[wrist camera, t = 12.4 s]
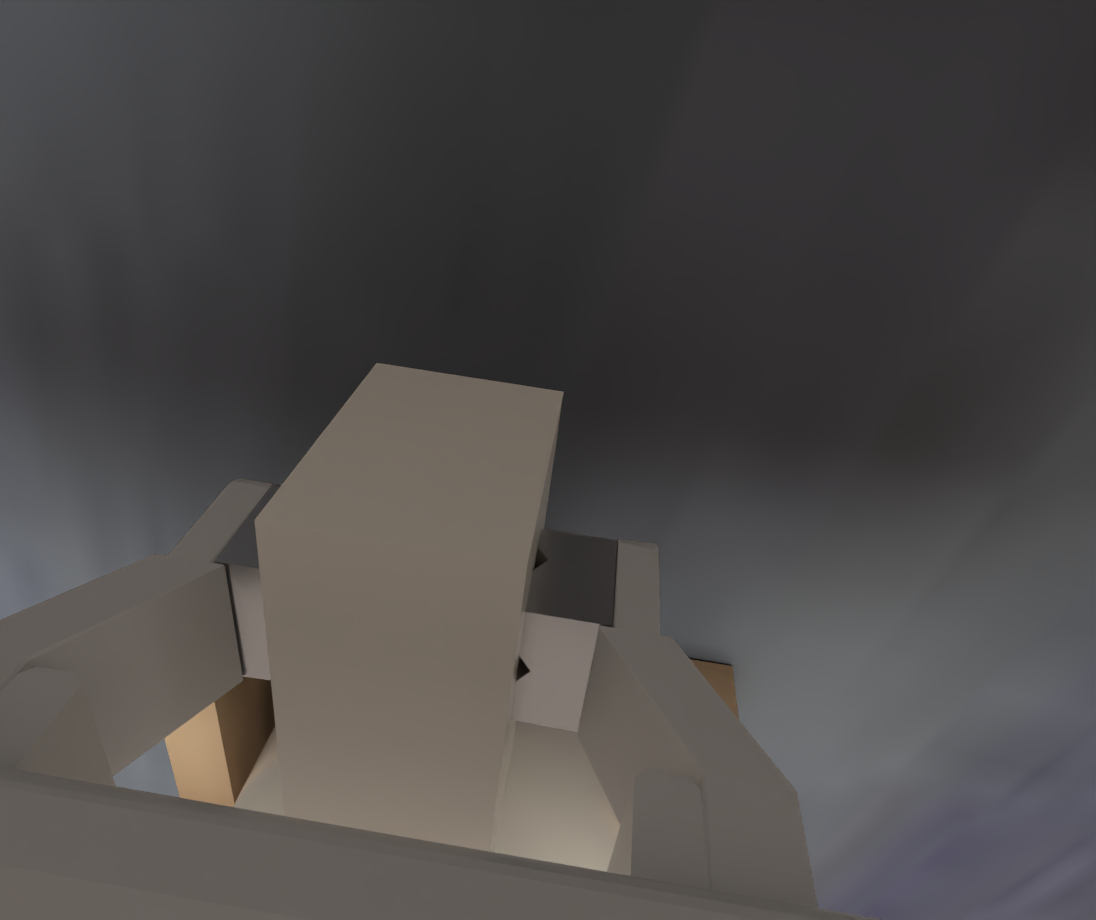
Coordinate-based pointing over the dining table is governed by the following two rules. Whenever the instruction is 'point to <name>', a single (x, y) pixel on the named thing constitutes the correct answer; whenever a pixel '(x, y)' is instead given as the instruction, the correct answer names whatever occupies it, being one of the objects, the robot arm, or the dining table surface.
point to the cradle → (247, 722)
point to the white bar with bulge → (419, 626)
